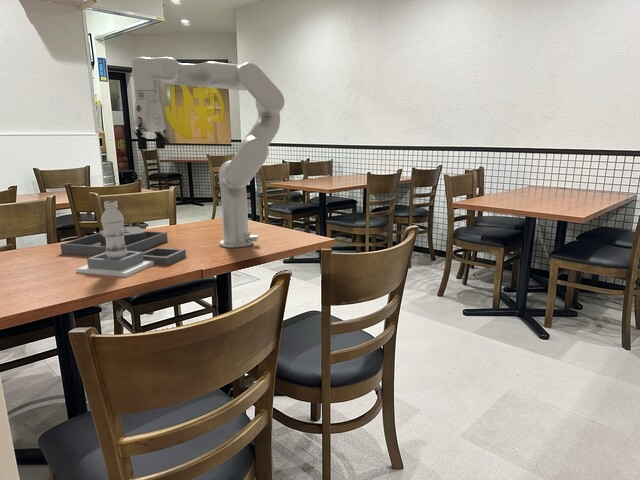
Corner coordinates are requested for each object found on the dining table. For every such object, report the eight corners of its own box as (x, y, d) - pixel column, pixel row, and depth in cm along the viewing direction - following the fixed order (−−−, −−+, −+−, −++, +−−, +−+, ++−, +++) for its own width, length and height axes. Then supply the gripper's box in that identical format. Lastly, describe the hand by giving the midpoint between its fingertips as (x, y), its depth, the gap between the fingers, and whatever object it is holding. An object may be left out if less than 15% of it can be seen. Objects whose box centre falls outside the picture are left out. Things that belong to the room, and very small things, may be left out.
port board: (155, 263, 145) (153, 251, 144) (126, 277, 132) (124, 263, 131) (109, 260, 150) (107, 248, 149) (76, 272, 137) (74, 259, 136)
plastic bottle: (133, 262, 143) (127, 200, 138) (118, 267, 137) (110, 203, 132) (117, 260, 145) (110, 199, 141) (101, 266, 139) (93, 202, 134)
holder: (186, 256, 154) (185, 249, 153) (167, 265, 143) (166, 257, 143) (156, 254, 157) (155, 247, 156) (136, 262, 147) (135, 255, 146)
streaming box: (148, 245, 167) (147, 232, 166) (106, 251, 159) (105, 237, 158) (138, 238, 179) (137, 226, 178) (99, 243, 171) (97, 230, 169)
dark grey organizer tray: (167, 240, 176) (166, 232, 175) (122, 258, 152) (121, 248, 151) (112, 237, 183) (111, 229, 182) (61, 253, 159) (60, 244, 158)
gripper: (139, 94, 140) (145, 150, 144) (171, 98, 156) (176, 148, 160) (119, 95, 142) (125, 150, 146) (153, 99, 158) (158, 148, 162)
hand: (152, 149), depth 153 cm, fingers open, 9 cm apart
